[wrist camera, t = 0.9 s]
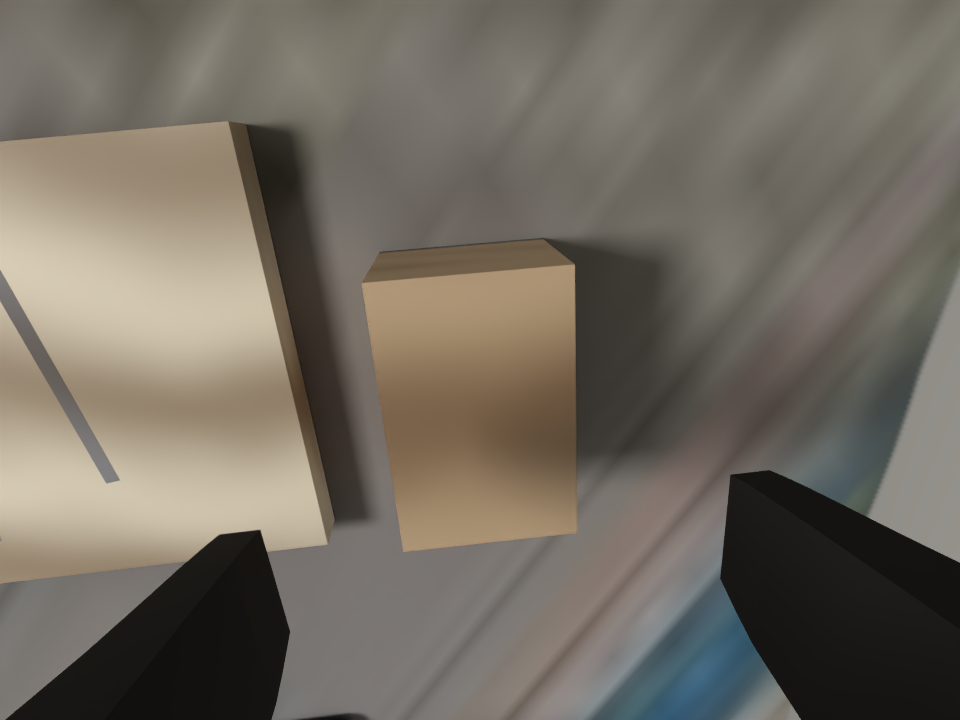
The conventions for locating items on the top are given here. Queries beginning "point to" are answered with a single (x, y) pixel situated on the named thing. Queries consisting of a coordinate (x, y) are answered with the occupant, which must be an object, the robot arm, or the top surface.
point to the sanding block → (477, 389)
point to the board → (145, 356)
